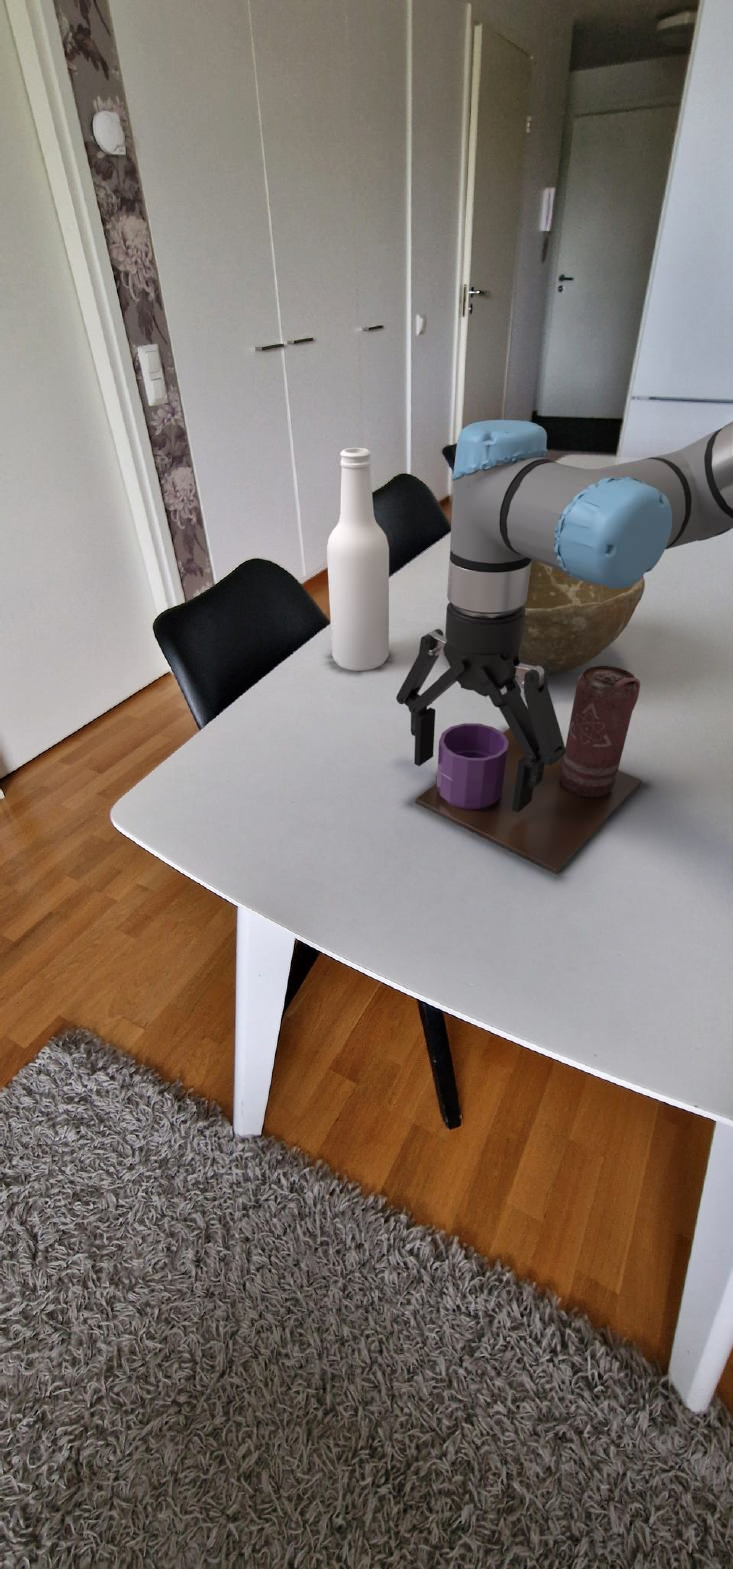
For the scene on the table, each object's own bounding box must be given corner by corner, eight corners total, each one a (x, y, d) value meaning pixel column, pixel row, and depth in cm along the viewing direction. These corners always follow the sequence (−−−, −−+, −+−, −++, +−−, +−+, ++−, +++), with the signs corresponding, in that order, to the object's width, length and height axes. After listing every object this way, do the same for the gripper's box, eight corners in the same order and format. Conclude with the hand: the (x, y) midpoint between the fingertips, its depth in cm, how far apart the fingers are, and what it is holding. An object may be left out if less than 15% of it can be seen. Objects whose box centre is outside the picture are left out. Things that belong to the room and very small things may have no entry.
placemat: (641, 783, 82) (642, 779, 82) (555, 874, 71) (556, 869, 70) (509, 731, 92) (510, 727, 92) (415, 802, 80) (415, 798, 80)
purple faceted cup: (514, 789, 81) (521, 738, 77) (477, 821, 76) (482, 769, 72) (462, 765, 85) (465, 716, 81) (423, 794, 80) (425, 743, 76)
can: (621, 799, 79) (650, 690, 71) (565, 799, 79) (586, 690, 71) (608, 768, 84) (632, 662, 76) (554, 768, 84) (573, 663, 76)
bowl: (445, 623, 120) (449, 534, 111) (606, 627, 118) (624, 536, 109) (442, 704, 98) (448, 601, 89) (641, 711, 95) (667, 606, 87)
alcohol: (394, 669, 107) (395, 455, 89) (337, 675, 105) (326, 460, 88) (382, 644, 114) (381, 442, 96) (328, 649, 112) (317, 445, 94)
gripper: (626, 624, 63) (586, 810, 75) (409, 564, 76) (406, 730, 89) (586, 653, 58) (550, 845, 71) (363, 584, 72) (367, 756, 84)
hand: (470, 782), depth 80 cm, fingers open, 13 cm apart
